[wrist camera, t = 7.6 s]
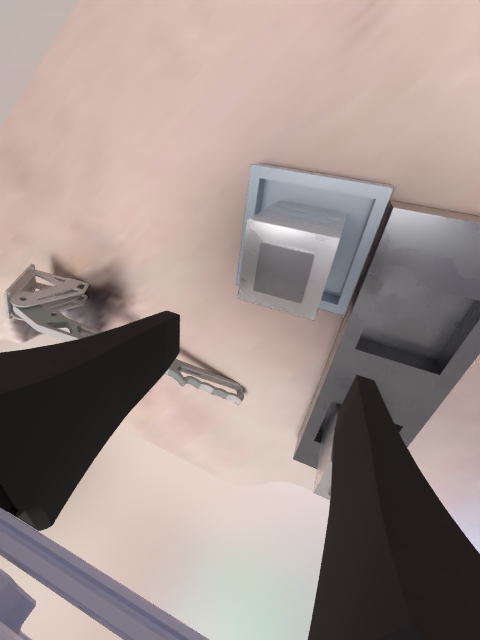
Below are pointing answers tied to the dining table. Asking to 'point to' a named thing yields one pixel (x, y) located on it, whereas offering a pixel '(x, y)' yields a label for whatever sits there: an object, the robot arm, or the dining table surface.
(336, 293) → the tray
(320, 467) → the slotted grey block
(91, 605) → the robot arm
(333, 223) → the light grey rectangular block
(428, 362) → the slotted metal plate
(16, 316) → the bracket
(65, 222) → the dining table surface
